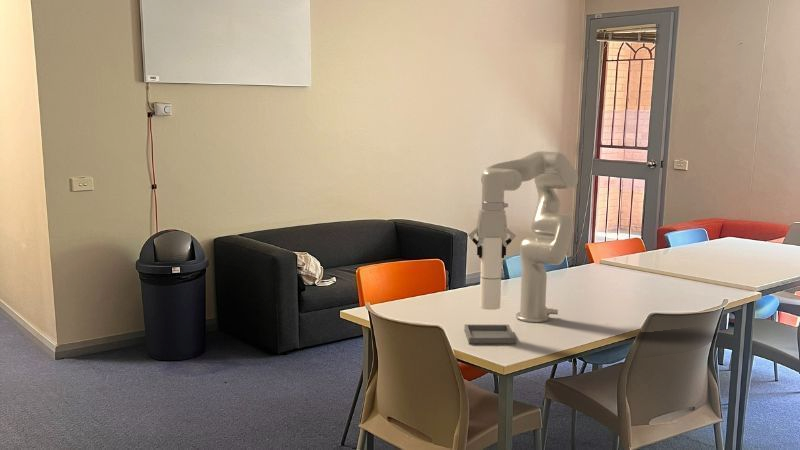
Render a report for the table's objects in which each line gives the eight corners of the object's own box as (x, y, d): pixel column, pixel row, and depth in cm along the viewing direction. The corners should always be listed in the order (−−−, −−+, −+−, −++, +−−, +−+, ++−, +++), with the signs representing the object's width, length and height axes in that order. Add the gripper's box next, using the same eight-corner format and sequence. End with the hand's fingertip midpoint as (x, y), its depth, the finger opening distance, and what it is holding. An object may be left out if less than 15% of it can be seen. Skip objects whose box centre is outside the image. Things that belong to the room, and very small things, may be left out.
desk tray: (508, 331, 272) (508, 324, 271) (515, 344, 256) (515, 337, 256) (464, 330, 271) (464, 324, 271) (469, 344, 256) (469, 337, 255)
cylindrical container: (498, 304, 266) (500, 234, 262) (501, 309, 258) (503, 238, 255) (478, 304, 265) (480, 234, 261) (481, 309, 258) (483, 238, 254)
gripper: (516, 205, 260) (514, 255, 263) (466, 205, 260) (465, 255, 263) (519, 208, 253) (518, 259, 256) (468, 207, 253) (467, 259, 255)
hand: (491, 257), depth 259 cm, fingers closed on cylindrical container, 7 cm apart
